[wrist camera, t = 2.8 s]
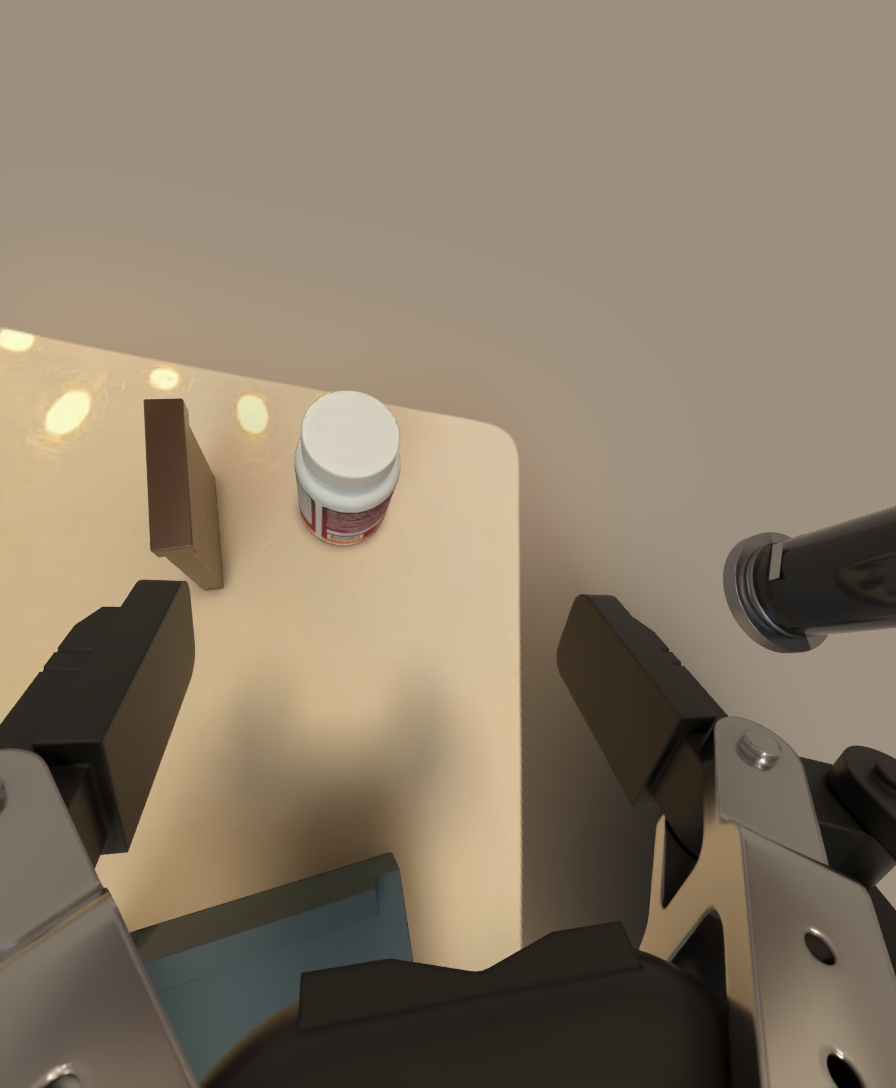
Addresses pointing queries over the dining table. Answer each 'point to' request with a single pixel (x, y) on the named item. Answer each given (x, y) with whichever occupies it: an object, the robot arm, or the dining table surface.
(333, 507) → the pill bottle
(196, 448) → the brown t-shaped panel
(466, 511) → the dining table surface
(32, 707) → the robot arm
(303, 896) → the sofa
